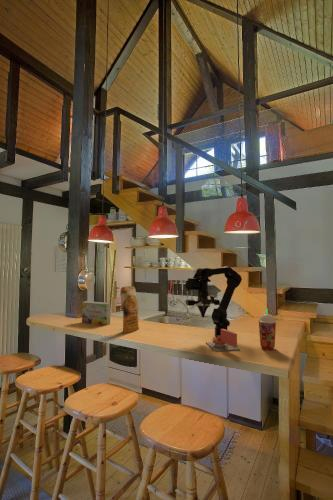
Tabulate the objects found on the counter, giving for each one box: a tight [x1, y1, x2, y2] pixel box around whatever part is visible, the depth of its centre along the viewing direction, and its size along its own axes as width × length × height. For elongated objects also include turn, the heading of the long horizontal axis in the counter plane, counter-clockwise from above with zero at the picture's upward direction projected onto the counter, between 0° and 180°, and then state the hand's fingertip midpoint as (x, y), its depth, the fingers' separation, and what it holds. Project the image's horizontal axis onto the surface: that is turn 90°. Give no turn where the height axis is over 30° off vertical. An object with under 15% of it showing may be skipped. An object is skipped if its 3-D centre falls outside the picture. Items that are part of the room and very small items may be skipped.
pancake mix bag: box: [120, 285, 140, 334], centre depth 175 cm, size 7×19×28 cm, turn 152°
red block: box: [212, 329, 238, 347], centre depth 137 cm, size 16×7×7 cm, turn 24°
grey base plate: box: [205, 341, 241, 352], centre depth 141 cm, size 13×14×3 cm
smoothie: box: [258, 308, 277, 351], centre depth 139 cm, size 8×8×20 cm
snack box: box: [81, 300, 111, 326], centre depth 196 cm, size 21×6×15 cm, turn 67°
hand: (202, 317), depth 156 cm, fingers closed
